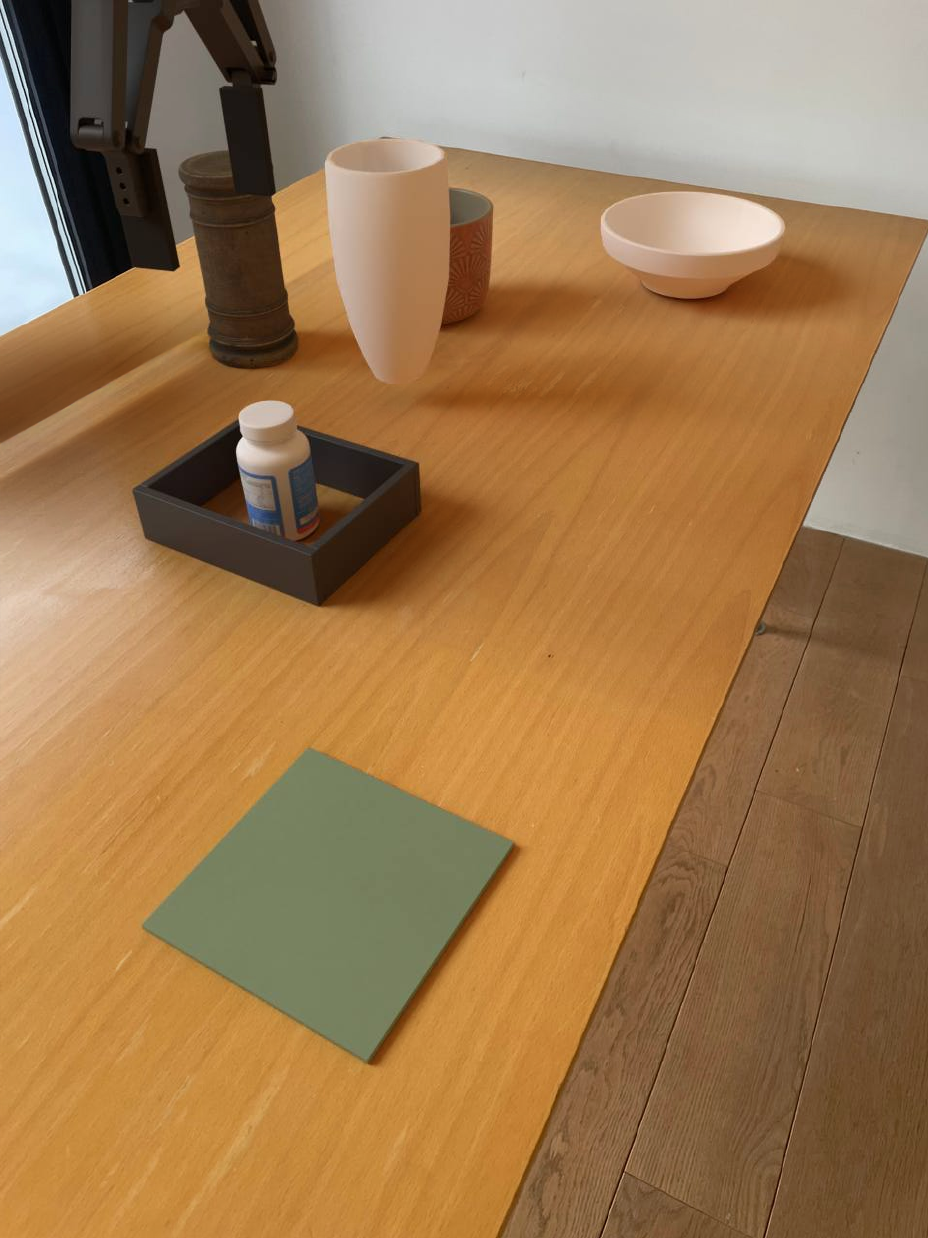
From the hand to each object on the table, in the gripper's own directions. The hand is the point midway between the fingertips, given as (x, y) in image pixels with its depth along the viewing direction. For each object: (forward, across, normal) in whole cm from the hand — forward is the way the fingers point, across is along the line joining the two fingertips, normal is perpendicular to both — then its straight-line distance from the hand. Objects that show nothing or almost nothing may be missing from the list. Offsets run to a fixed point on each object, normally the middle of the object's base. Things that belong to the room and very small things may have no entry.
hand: (209, 227), depth 64 cm
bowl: (+23, +55, -26) cm, 65 cm away
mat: (+23, -30, -18) cm, 41 cm away
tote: (+23, 0, -2) cm, 23 cm away
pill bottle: (+23, 0, -2) cm, 23 cm away
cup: (+23, +21, -4) cm, 32 cm away
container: (+23, +28, +14) cm, 39 cm away
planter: (+23, +42, -1) cm, 48 cm away
